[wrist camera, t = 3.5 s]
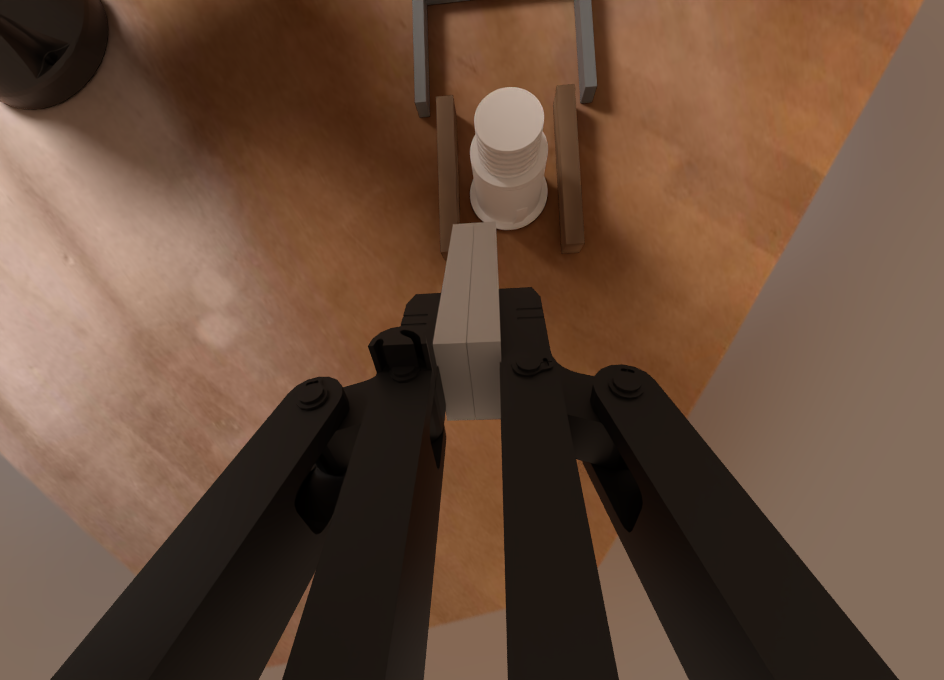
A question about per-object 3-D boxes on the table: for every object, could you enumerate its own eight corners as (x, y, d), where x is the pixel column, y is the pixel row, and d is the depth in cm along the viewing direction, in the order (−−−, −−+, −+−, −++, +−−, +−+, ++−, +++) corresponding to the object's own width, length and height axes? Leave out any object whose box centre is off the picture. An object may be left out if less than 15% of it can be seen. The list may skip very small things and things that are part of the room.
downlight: (558, 223, 34) (578, 156, 24) (482, 245, 35) (473, 188, 25) (533, 145, 36) (543, 51, 26) (460, 167, 36) (443, 83, 26)
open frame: (419, 117, 36) (414, 102, 34) (416, -4, 37) (411, -25, 35) (591, 102, 35) (596, 85, 33) (583, -23, 36) (588, -46, 34)
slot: (444, 260, 35) (440, 251, 32) (440, 115, 36) (435, 96, 34) (578, 252, 34) (584, 243, 31) (569, 104, 35) (574, 83, 33)
